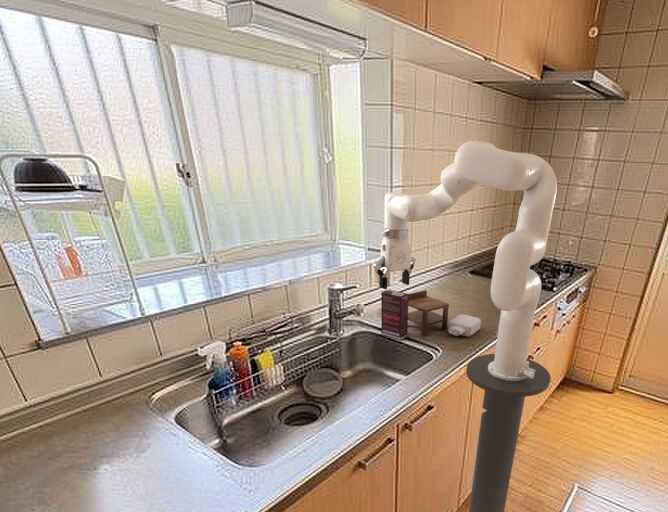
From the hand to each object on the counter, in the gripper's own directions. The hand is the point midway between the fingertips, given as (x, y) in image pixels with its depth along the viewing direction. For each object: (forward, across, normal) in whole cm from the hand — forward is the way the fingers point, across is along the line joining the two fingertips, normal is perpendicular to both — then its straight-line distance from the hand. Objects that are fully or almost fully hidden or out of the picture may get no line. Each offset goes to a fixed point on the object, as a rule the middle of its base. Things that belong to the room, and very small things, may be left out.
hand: (394, 286), depth 142 cm
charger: (+18, +21, -14) cm, 31 cm away
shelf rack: (+18, +14, -1) cm, 23 cm away
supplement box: (+18, 0, 0) cm, 18 cm away
